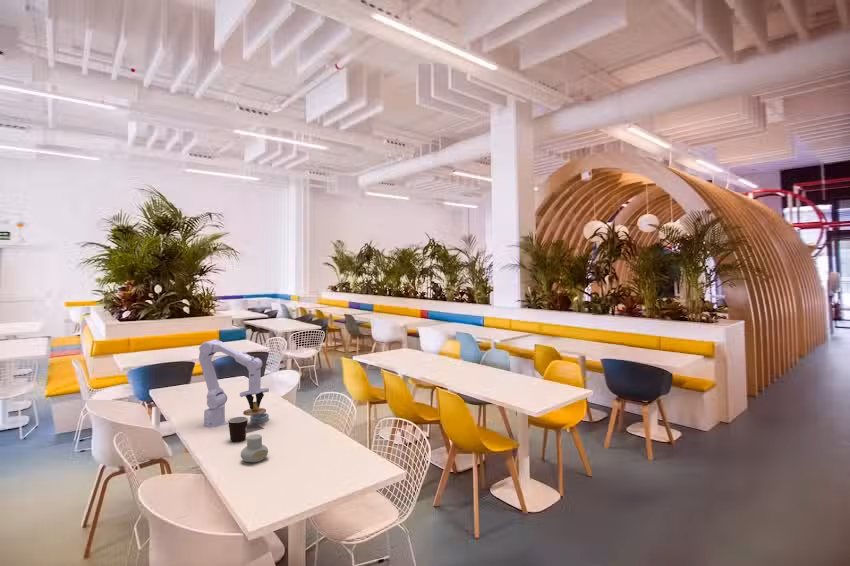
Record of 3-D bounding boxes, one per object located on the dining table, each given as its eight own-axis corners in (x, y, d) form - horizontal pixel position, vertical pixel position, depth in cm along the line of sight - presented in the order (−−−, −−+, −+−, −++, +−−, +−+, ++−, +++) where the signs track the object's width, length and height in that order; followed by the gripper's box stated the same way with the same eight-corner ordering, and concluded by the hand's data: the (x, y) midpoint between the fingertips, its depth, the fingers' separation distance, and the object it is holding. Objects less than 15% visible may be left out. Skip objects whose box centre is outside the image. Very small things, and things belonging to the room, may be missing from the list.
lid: (248, 416, 221) (247, 406, 221) (240, 412, 229) (240, 402, 229) (269, 412, 228) (269, 402, 228) (261, 408, 236) (260, 398, 236)
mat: (245, 434, 217) (245, 433, 217) (236, 428, 224) (236, 428, 224) (264, 429, 224) (264, 428, 224) (256, 424, 231) (256, 423, 231)
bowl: (254, 425, 229) (254, 419, 229) (247, 421, 236) (247, 415, 236) (271, 421, 236) (271, 415, 236) (263, 417, 242) (263, 411, 242)
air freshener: (261, 453, 194) (261, 430, 194) (271, 458, 189) (271, 435, 189) (237, 461, 186) (237, 437, 185) (247, 467, 180) (247, 442, 180)
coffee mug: (240, 444, 203) (240, 423, 203) (224, 443, 205) (224, 421, 205) (255, 435, 215) (255, 415, 214) (239, 434, 216) (239, 414, 216)
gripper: (243, 385, 220) (243, 412, 221) (271, 381, 231) (271, 406, 231) (238, 383, 225) (238, 409, 226) (265, 378, 236) (265, 403, 236)
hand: (254, 408), depth 229 cm, fingers closed on lid, 3 cm apart
